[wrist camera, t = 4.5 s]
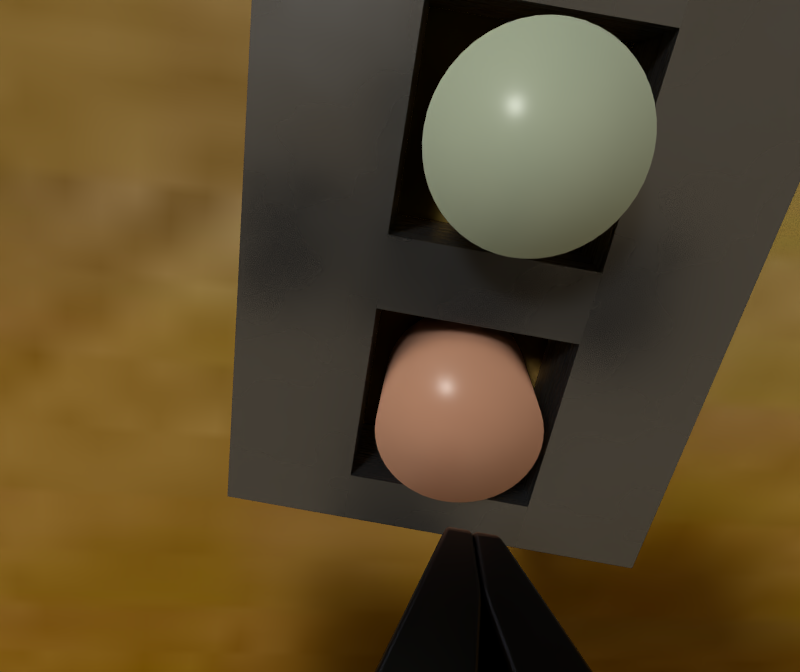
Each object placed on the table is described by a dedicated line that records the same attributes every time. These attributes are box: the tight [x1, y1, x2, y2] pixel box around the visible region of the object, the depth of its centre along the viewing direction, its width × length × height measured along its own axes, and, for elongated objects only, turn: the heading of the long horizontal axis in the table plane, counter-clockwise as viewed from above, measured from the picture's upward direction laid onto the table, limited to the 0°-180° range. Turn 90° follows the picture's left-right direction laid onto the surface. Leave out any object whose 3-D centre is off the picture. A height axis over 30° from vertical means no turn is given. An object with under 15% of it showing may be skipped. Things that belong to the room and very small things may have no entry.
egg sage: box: [422, 15, 657, 259], centre depth 10 cm, size 4×4×3 cm
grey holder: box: [228, 0, 800, 568], centre depth 11 cm, size 10×19×2 cm, turn 171°
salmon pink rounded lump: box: [375, 317, 544, 503], centre depth 13 cm, size 4×4×3 cm
